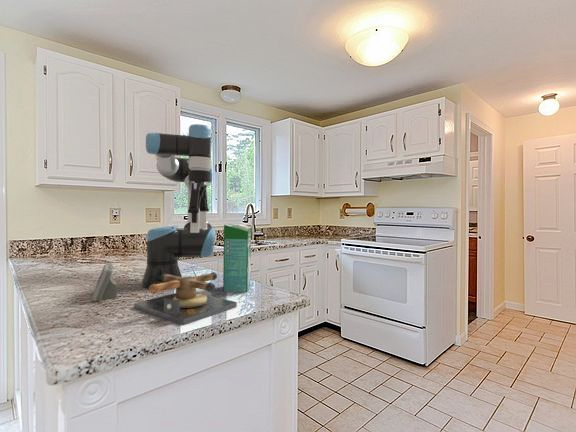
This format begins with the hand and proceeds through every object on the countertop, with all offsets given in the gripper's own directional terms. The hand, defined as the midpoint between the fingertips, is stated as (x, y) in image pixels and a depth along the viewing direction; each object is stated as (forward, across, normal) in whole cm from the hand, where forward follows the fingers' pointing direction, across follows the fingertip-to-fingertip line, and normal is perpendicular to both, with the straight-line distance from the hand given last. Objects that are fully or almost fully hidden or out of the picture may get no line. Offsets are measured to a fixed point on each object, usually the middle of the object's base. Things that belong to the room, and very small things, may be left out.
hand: (199, 230), depth 114 cm
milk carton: (+23, -9, +13) cm, 28 cm away
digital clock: (+24, +1, -32) cm, 40 cm away
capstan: (+21, +15, -1) cm, 25 cm away
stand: (+22, +15, -1) cm, 27 cm away
